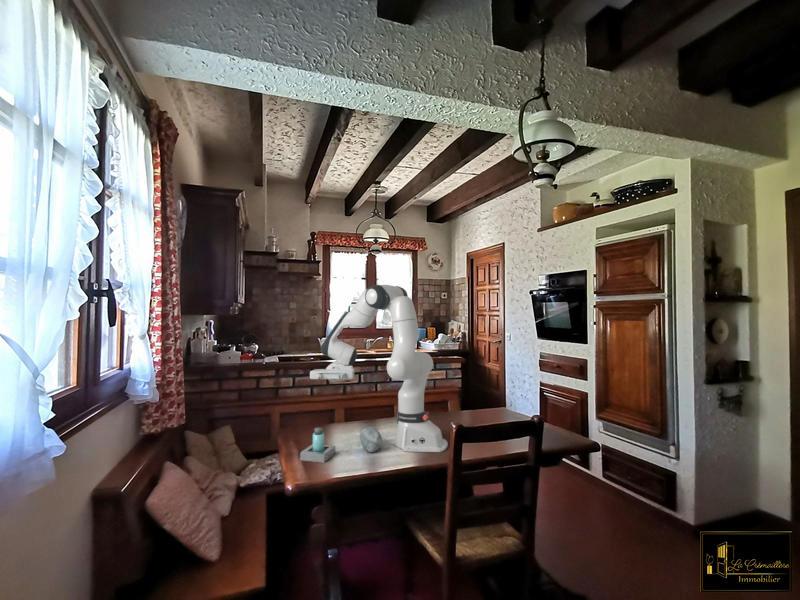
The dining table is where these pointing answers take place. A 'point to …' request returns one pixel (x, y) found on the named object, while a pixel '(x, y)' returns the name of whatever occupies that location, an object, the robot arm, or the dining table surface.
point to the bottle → (318, 440)
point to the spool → (371, 439)
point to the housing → (317, 454)
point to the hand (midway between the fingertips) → (329, 377)
